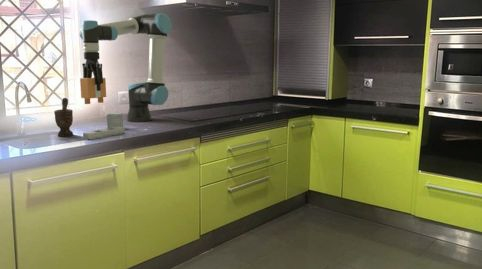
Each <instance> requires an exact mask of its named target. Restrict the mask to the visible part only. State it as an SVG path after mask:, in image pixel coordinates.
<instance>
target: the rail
mask: <svg viewBox="0 0 482 269" xmlns="http://www.w3.org/2000/svg"><path fill="white" fill-rule="evenodd" d="M125 128H126V127H124V126H123V127H113V128H108V127H106V128H103V129H98V130H92V131H86V132H83V133H82V136H83V137H82V138H83V139H84V140H88V139H92V140H96V139H95V138H97V139H101V137H103V138H106V136H108V137H113V136H117V134H118V135H122V134H125V133H126V130H125ZM112 135H113V136H112Z"/></svg>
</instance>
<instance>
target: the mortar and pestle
mask: <svg viewBox="0 0 482 269" xmlns="http://www.w3.org/2000/svg"><path fill="white" fill-rule="evenodd" d="M61 104H62V106H61V108H62V109H57V110H56V109H55V110H54V120H55V124H56V126H57V127H58V129H59V131H58V134H57V137H71V136H73V135H74V133H73V131H71V129H70V127H71V126H72V125H73V119H74V117H73V115H74V114H73V109H71V108H68V105H69V99H68V98H67V97H64V98H62V100H61Z"/></svg>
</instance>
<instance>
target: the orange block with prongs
mask: <svg viewBox="0 0 482 269" xmlns="http://www.w3.org/2000/svg"><path fill="white" fill-rule="evenodd" d="M79 83H80V98H81V99H84V104H85V105H91V99H97V103H99V104H101V103H104V98H107V86H106V85H107V84H106V77H103V83H101V84H100V87H101V90H100V94H101V97H95V78H94V77H92V78H83V77H82V78H81V77H80V78H79Z"/></svg>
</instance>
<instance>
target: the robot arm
mask: <svg viewBox="0 0 482 269" xmlns="http://www.w3.org/2000/svg"><path fill="white" fill-rule="evenodd" d="M81 25H82V26H81V27H80V29H79V32H78V34H79V38H80V39H81V40H82V43H83V44H82V46H83V51H84V52H83V59H84V60H85V62H84V63H82V72H83V73H82V78H95V97H101V94H100V90H101V87H100V84H101V83H103V78H104V77H103V75H104V74H103V63H99V60H100V44H99V43H100V42H99V41H109V42H111V41H116V40H117V38H118V37H119V36H122V35H126V34H127V35H128V34H129V35H130V34H132V35H137V34H138V35H139V34H140V35H141V34H144V35H146V36H147V37H148V38H149V49H148V51H149V52H148V70H147V71H148V72H147V80H145V82H138V83H137V82H136V83H131V84H129V85H128V90H127V91H128V107H129V108H128V113H127V116H126V121H127V122H130V123H131V122H135V123H137V122H149V121H152V119H153V118H152V114H151V111H150V108H149V105H153V106H163V104H165V103H166V102H167V100H168V98H169V90H168V88H167V87H166V84H165V83H166V82H165V81H164V80H163V78H164V74H163V72H164V58H165V57H164V53H165V50H164V49H165V40H167V38H168V34H170V33H171V31H172V28H173V25H172V20H171V19H170V17H169V16H168V15H167V14H166V13H159V12H157V13H146V14H141V15H137V16H133V17H130V18H128V19H127V20H121V21H115V22H109V23H101V24H98V21H97V20H92V19H91V20H83V21H82V24H81Z"/></svg>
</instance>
